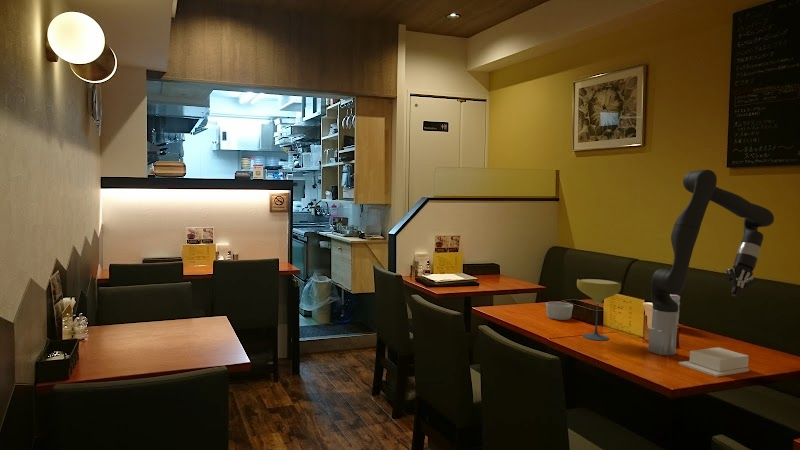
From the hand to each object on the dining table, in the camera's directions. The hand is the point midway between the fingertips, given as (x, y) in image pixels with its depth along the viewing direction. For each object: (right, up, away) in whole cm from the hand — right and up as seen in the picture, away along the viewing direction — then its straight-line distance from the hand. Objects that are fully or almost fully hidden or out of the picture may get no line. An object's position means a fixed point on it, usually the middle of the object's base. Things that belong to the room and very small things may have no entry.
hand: (734, 295), depth 230 cm
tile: (-10, -21, -15) cm, 28 cm away
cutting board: (-19, -24, -20) cm, 37 cm away
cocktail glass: (-50, -21, +19) cm, 57 cm away
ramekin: (-55, -18, +56) cm, 81 cm away
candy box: (-7, -21, +43) cm, 48 cm away
